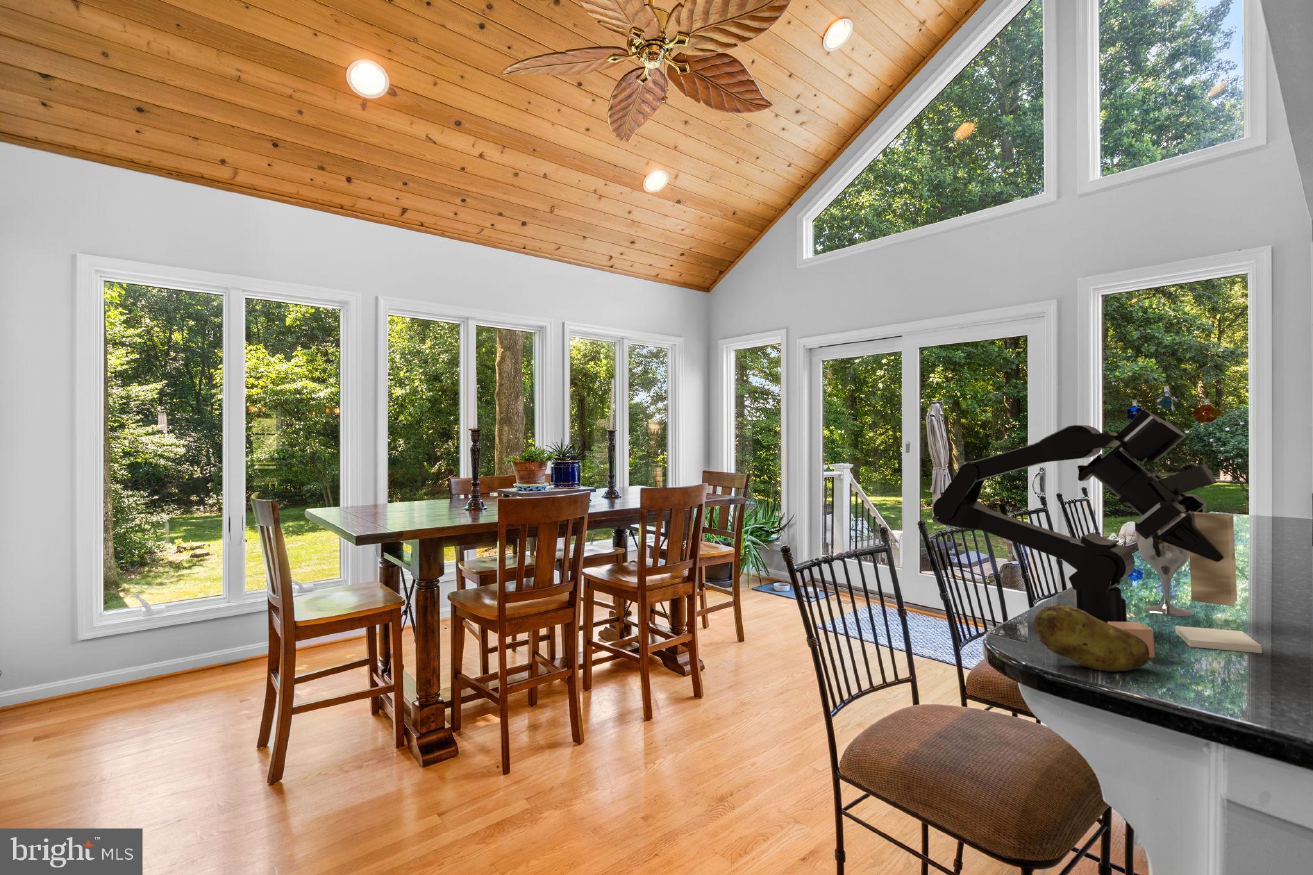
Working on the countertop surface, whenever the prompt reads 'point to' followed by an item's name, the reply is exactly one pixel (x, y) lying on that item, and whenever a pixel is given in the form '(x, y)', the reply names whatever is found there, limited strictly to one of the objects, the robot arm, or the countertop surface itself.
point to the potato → (1089, 640)
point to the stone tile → (1218, 639)
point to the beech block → (1207, 575)
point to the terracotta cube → (1138, 633)
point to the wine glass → (1163, 569)
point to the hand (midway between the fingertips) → (1224, 557)
